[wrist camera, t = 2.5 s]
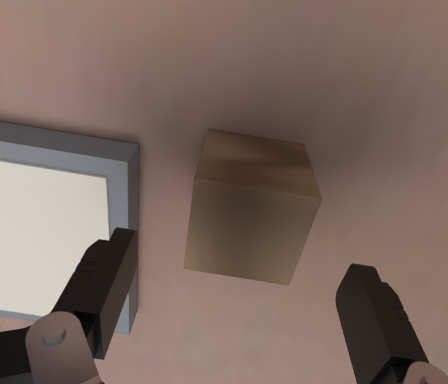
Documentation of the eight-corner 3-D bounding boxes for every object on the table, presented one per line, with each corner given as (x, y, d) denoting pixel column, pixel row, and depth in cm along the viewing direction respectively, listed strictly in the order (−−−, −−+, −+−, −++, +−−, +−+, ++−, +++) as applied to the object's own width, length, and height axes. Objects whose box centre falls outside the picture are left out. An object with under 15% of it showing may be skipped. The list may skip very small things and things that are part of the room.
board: (139, 144, 18) (126, 164, 16) (137, 311, 25) (128, 337, 23) (-91, 106, 17) (-132, 121, 15) (-23, 287, 25) (-45, 311, 23)
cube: (304, 144, 17) (321, 199, 13) (280, 220, 20) (288, 285, 16) (208, 128, 17) (194, 177, 13) (197, 206, 20) (183, 268, 16)
